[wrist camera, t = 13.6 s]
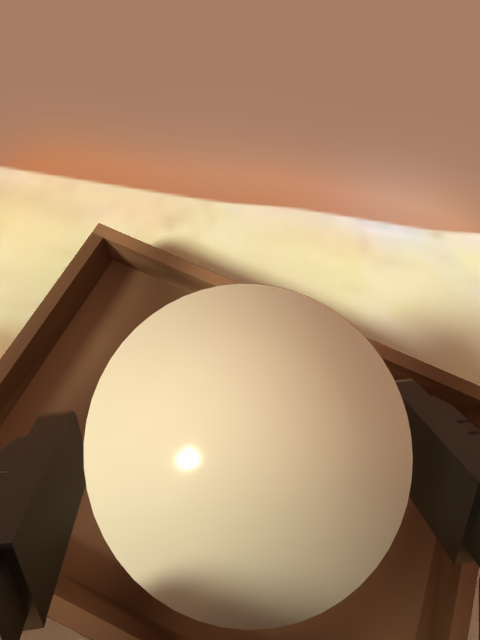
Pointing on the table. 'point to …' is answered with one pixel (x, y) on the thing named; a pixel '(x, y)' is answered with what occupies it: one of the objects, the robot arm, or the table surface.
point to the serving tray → (86, 538)
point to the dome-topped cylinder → (248, 456)
